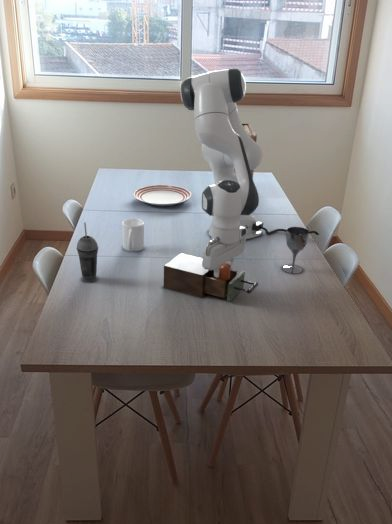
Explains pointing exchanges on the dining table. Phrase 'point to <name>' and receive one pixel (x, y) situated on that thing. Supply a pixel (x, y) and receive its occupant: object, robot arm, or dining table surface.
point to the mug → (133, 234)
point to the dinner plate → (162, 195)
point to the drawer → (226, 285)
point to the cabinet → (185, 275)
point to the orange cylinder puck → (224, 272)
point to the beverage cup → (88, 256)
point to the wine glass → (295, 245)
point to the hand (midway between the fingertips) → (222, 273)
